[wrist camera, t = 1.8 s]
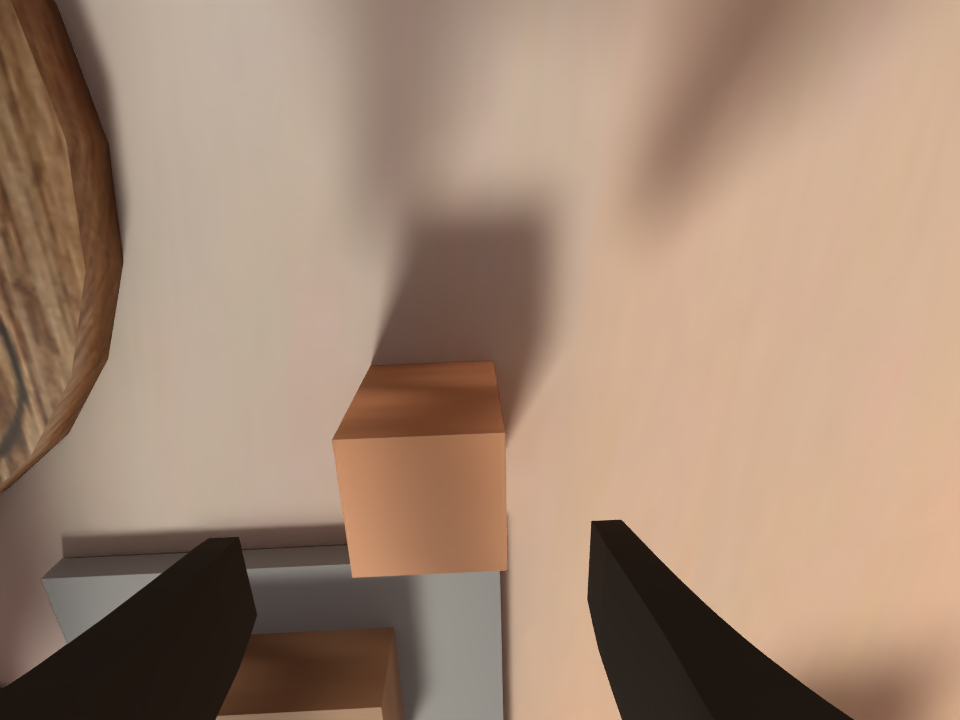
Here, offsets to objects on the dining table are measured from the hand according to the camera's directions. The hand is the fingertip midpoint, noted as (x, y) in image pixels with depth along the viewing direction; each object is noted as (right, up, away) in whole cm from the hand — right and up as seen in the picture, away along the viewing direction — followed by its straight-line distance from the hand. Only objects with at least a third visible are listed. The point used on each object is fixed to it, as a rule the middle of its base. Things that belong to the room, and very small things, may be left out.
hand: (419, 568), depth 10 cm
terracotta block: (0, +2, +7) cm, 7 cm away
